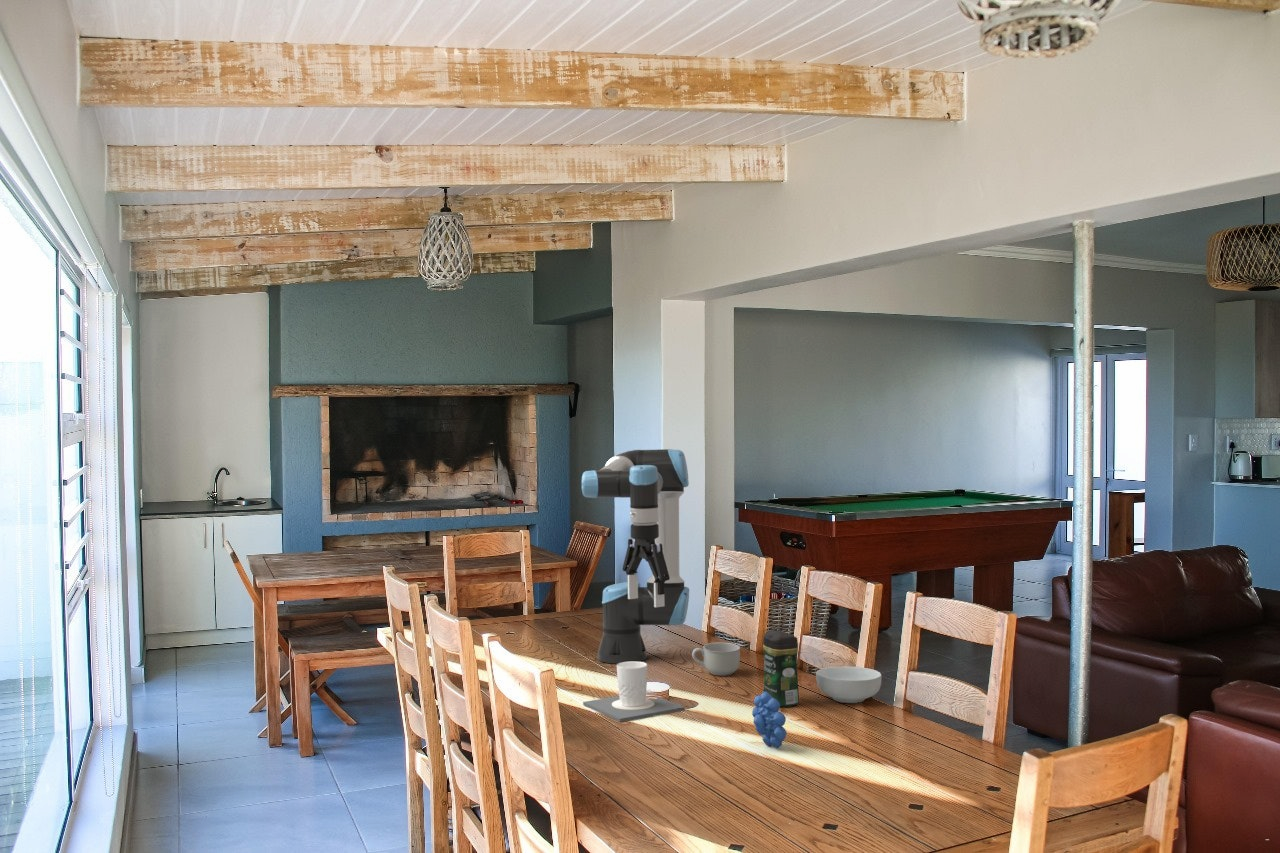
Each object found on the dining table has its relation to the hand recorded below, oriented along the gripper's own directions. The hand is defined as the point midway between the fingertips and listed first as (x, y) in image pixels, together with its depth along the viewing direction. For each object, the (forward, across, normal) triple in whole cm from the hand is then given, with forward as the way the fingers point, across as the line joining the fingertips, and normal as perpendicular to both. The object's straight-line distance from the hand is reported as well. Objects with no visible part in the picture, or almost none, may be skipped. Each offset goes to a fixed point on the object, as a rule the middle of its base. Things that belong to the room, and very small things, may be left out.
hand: (645, 602), depth 289 cm
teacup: (+26, -10, +30) cm, 41 cm away
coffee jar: (+25, +26, +25) cm, 44 cm away
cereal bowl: (+26, +32, +42) cm, 59 cm away
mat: (+25, +8, -9) cm, 28 cm away
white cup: (+24, +8, -9) cm, 27 cm away
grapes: (+24, +53, -1) cm, 58 cm away
